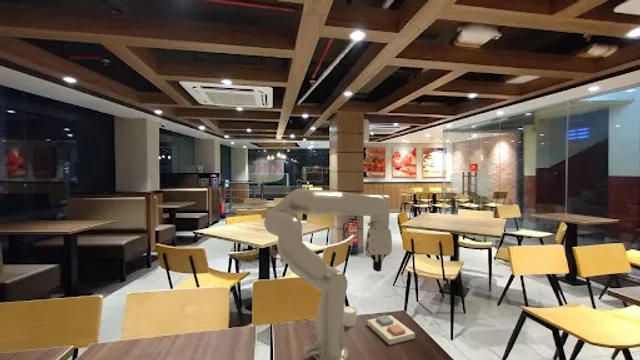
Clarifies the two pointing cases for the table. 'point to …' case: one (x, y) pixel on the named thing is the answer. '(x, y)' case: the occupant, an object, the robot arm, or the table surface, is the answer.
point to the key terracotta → (396, 330)
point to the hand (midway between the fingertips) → (377, 270)
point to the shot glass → (349, 316)
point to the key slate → (384, 320)
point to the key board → (386, 334)
